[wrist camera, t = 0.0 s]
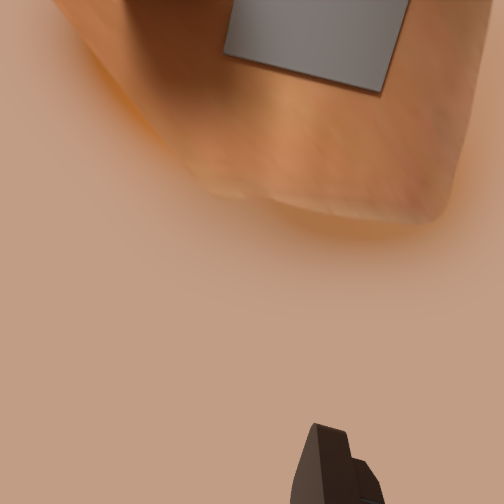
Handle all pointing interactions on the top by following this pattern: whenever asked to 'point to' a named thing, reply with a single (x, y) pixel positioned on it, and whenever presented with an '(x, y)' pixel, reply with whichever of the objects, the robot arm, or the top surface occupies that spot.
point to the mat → (319, 37)
